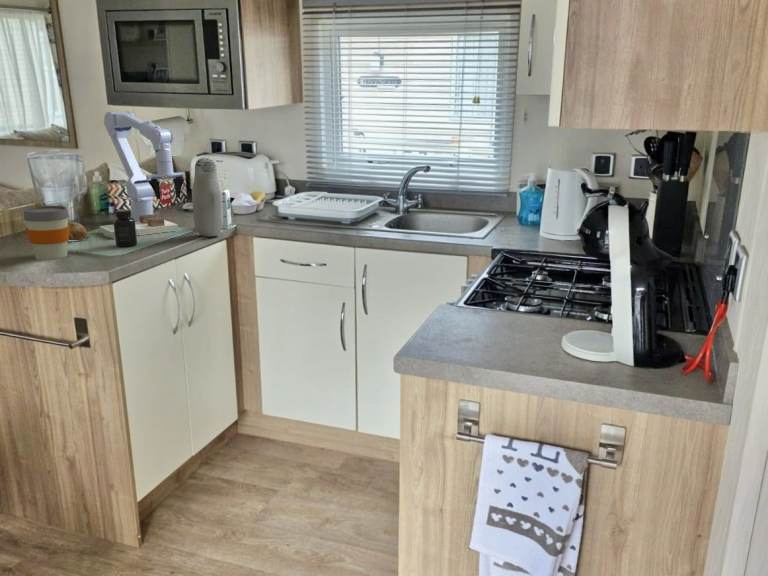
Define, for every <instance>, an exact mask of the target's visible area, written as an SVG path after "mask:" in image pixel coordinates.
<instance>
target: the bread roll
mask: <svg viewBox="0 0 768 576" xmlns="http://www.w3.org/2000/svg"><path fill="white" fill-rule="evenodd" d="M68 225H69V240H83V239H86V238H87V237H88V238H89V234H88V231H87V228H85V226H83V225H82V224H81V223H79V222H76V221H75V222H74V221H70V222H69V221H68ZM88 238H87V239H88ZM87 239H86V240H87ZM83 241H84V240H83Z"/></svg>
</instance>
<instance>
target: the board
mask: <svg viewBox="0 0 768 576" xmlns="http://www.w3.org/2000/svg"><path fill="white" fill-rule="evenodd" d="M164 225H165V226H158V227H151V226H148V224H143V223H141V222H135V226H136V229H138V235H144V236H146V235H145V234H152V233H158V232H164V231H170V230H178V231H179V226H178V225H179V224H177V223H174V222H171V221H169V220H165V219H164ZM152 235H153V234H152Z"/></svg>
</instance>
